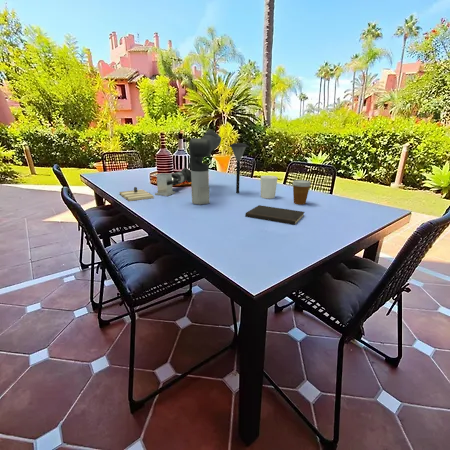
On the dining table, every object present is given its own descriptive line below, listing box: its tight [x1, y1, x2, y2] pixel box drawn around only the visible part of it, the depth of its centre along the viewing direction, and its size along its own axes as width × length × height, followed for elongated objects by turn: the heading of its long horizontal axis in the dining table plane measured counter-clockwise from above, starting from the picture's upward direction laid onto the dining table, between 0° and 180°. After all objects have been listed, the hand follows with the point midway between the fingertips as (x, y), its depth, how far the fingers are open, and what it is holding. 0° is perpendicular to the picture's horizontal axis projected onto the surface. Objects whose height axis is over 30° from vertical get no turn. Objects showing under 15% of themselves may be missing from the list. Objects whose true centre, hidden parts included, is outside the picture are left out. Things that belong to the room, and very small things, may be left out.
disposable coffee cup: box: [292, 179, 312, 206], centre depth 146 cm, size 10×10×12 cm
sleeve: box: [154, 172, 176, 197], centre depth 165 cm, size 9×9×12 cm
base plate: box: [119, 186, 155, 202], centre depth 159 cm, size 20×14×6 cm
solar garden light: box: [228, 142, 250, 194], centre depth 165 cm, size 12×12×30 cm
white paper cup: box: [260, 175, 278, 200], centre depth 159 cm, size 10×10×12 cm
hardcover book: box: [244, 204, 306, 226], centre depth 125 cm, size 16×23×2 cm
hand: (162, 183), depth 162 cm, fingers closed on sleeve, 6 cm apart
